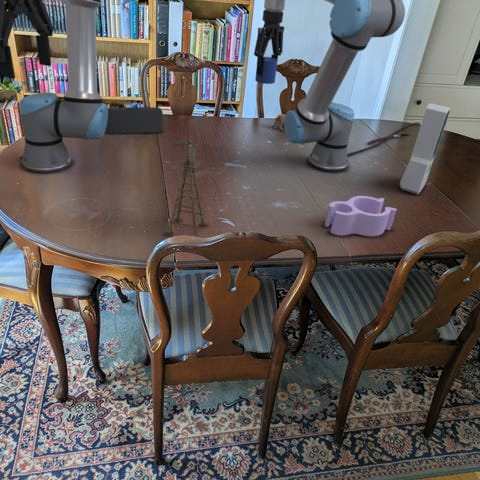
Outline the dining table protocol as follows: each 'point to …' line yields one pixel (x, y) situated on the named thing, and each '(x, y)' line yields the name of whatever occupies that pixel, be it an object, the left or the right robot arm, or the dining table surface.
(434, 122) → the electronic device
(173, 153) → the dining table surface
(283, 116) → the lion figurine
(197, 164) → the miniature windmill
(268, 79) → the can
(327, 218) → the clip
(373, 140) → the sword
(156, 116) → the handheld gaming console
